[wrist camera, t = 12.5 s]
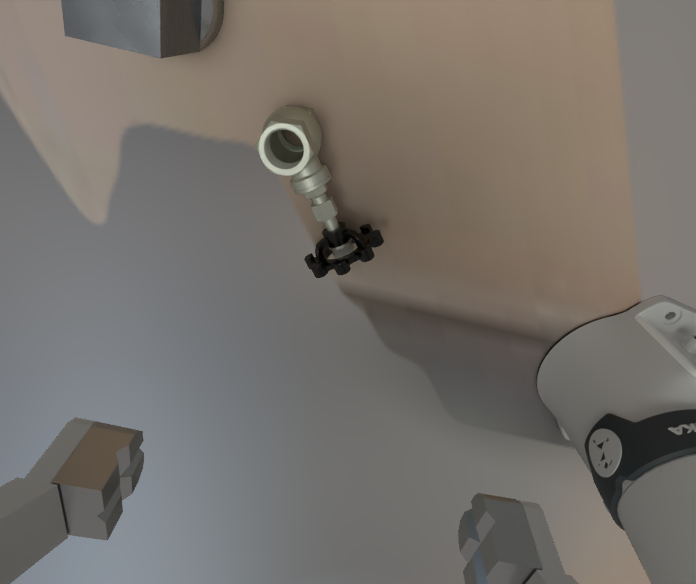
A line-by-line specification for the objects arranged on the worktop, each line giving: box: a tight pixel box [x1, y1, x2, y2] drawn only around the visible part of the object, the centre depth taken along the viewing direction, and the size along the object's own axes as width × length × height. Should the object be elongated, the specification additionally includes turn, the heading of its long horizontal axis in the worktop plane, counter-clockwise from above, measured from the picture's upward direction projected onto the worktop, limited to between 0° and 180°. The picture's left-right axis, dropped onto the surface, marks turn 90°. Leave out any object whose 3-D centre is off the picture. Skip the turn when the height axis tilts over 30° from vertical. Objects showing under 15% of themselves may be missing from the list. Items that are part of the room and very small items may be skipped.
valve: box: [255, 105, 384, 278], centre depth 33 cm, size 7×7×12 cm
